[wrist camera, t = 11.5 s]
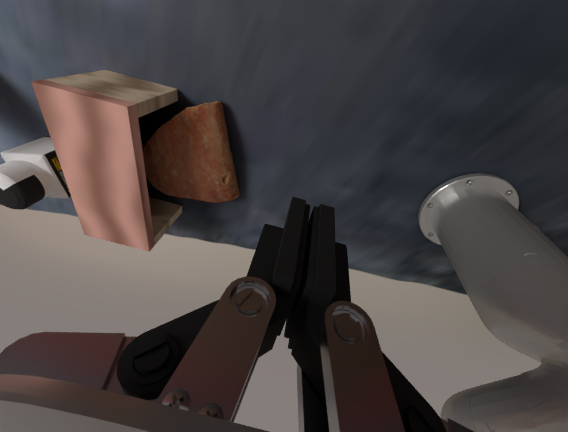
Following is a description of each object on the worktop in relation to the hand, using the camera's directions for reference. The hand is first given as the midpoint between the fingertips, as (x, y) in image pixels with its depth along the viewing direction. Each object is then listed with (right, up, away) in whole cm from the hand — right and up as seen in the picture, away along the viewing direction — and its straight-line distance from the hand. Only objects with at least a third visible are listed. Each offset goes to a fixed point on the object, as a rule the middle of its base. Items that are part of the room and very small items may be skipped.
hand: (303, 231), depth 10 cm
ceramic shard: (-15, +11, +29) cm, 35 cm away
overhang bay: (-22, +11, +30) cm, 39 cm away
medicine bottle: (-37, +11, +33) cm, 51 cm away
